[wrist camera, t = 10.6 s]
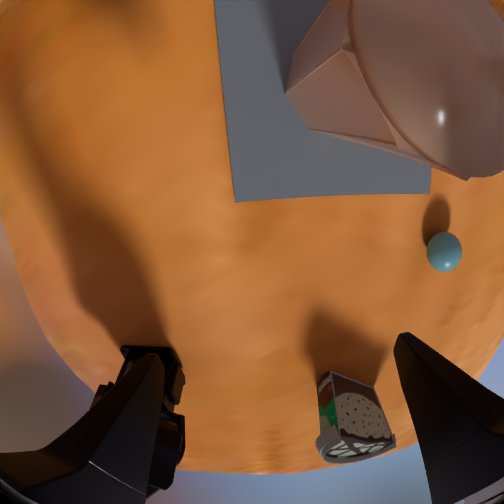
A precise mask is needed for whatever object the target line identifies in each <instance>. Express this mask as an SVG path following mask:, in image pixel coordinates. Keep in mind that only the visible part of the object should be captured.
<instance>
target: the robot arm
mask: <svg viewBox="0 0 504 504" xmlns="http://www.w3.org/2000/svg"><path fill="white" fill-rule="evenodd" d="M120 351H121V353H122V355H123V357H124V358H125V360H124V363H123V365H122V367H121V370H120V372H119V375H118V377H117V380H116V382H115V385H114V383H112V382H110V381H109V383H108V384H107V385H99V387H98V389H97V392H96V394H95V397H94V399H93V402H92V404H91V407H90V409H89V411H88V412H87V413H86V414H85V415H84V416H82V417H81V418H80V419H79V420H78V421H77V422H76V423H75V424H74V425H73V426H71V427H70V428H69V429H68V430H67V431H65V432H64V433H63V434H62V435H60V436H59V437H58V438H56V439H55V440H54V441H53V442H51V443H50V444H49V445H47V446H46V447H44V448H42V449H39V450H35V451H26V452H11V453H0V504H145V501H146V499H147V498H149V497H150V496H152V495H153V494H154V493H156V492H157V491H158V490H160V489H162V490H167V489H168V488H169V487H170V486H171V484H172V483H173V478H174V472H175V468H176V466H177V465H178V464H179V463H180V461H181V459H182V457H183V455H184V451H185V416H183V415H181V414H179V415H178V414H176V413H174V412H173V411H174V406H175V405H178V404H179V403H180V398H181V393H182V389H183V385H185V382H186V381H185V376H184V374H183V371H182V369H181V367H180V365H179V363H177V360H176V358H175V356H174V353H173V351H172V349H170V348H167V347H137V346H121V348H120ZM393 352H394V357H395V361H396V365H397V370H398V374H399V378H400V383H401V386H402V390H403V393H404V396H405V399H406V402H407V405H408V408H409V411H410V414H411V418H412V421H413V424H414V428H415V431H416V435H417V438H418V442H419V445H420V449H421V453H422V457H423V461H424V465H425V470H426V475H427V479H428V484H429V489H430V494H431V499H432V504H454V503H456V502H459V501H461V500H463V499H464V501H465V503H464V504H504V399H503V398H502V397H500V396H498V395H497V394H495V393H494V392H492V391H490V390H489V389H487V388H486V387H484V386H483V385H482V384H480V383H479V382H477V381H476V380H475V379H473V378H471V376H469V375H468V374H467V373H465V372H464V371H463V370H461V369H460V368H458V367H457V366H456V365H454V364H453V363H452V362H450V361H449V360H448V359H446V358H445V357H443V356H442V355H441V354H439V353H438V352H436V351H435V350H434V349H432V348H431V347H430V346H428V345H427V344H425V343H424V342H423V341H421V340H420V339H418V338H417V337H415V336H414V335H413V334H411V333H410V332H405V333H400V334H399V335H398V337H397V340H396V343H395V346H394V350H393Z"/></svg>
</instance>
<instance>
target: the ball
mask: <svg viewBox="0 0 504 504" xmlns="http://www.w3.org/2000/svg"><path fill="white" fill-rule="evenodd" d="M461 256H462V247H461V244H460V242H459V240H458V238H457V237H456V236H455V235H453V234H452V233H449V232H439V233H437V234H435V235H434V236H433V237H432V238H431V239H430V241H429V243H428V245H427V258H428V261H429V263H430V264H431V266H432V267H433V268H435V269H436V270H438V271H441V272H447V271H451V270H453V269H454V268H455V267H456V266H457V265H458V264H459V262H460V260H461Z"/></svg>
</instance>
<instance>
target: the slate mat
mask: <svg viewBox="0 0 504 504" xmlns="http://www.w3.org/2000/svg"><path fill="white" fill-rule="evenodd" d="M329 1H330V0H214V3H215V14H216V25H217V35H218V45H219V56H220V66H221V76H222V85H223V95H224V104H225V114H226V123H227V132H228V141H229V150H230V159H231V168H232V177H233V186H234V194H235V202H246V201H257V200H269V199H283V198H297V197H314V196H334V195H360V194H429V193H430V181H431V167H430V166H428V165H425V164H422V163H419V162H416V161H413V160H410V159H407V158H404V157H401V156H398V155H395V154H392V153H388V152H385V151H382V150H378V149H375V148H371V147H367V146H363V145H360V144H356V143H352V142H348V141H346V140H343V139H340V138H337V137H333V136H330V135H326V134H323V133H319V132H315V131H309V130H308V128H307V126H306V125H305V123H304V122H303V120H302V119H301V117H300V116H299V114H298V113H297V111H296V110H295V108H294V107H293V105H292V104H291V102H290V101H289V99H288V98H287V96H286V95H285V94H284V93H285V91H286V86H287V82H288V77H289V72H290V68H291V63H292V58H293V57H292V56H293V54H294V53H295V51H296V50H297V48H298V47H299V45H300V43H301V42H302V40H303V39H304V37H305V36H306V34H307V33H308V31H309V30H310V28H311V27H312V25H313V24H314V22H315V21H316V19H317V18H318V17H319V15H320V14H321V12H322V11H323V9H324V8H325V7H326V5H327V4H328V2H329Z"/></svg>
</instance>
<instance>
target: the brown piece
mask: <svg viewBox="0 0 504 504" xmlns="http://www.w3.org/2000/svg"><path fill="white" fill-rule="evenodd" d="M292 57H293V58H292V63H291V68H290V72H289V77H288V82H287V86H286V91H285V93H284V94H285V95H286V96H287V98H288V99H289V101H290V102H291V104H292V105H293V107H294V108H295V110H296V111H297V113H298V114H299V116H300V117H301V119H302V120H303V122H304V123H305V125H306V126H307V128H308V130H309V131H315V132H319V133H323V134H326V135H330V136H333V137H337V138H340V139H343V140H346V141H348V142H352V143H356V144H360V145H363V146H367V147H371V148H375V149H378V150H382V151H385V152H388V153H392V154H395V155H398V156H401V157H404V158H407V159H410V160H413V161H416V162H419V163H422V164H425V165H428V166H430V167H433V168H436V169H438V170H441V171H443V172H446V173H448V174H451V175H453V176H456V177H458V178H461V179H463V180H465V181H466V180H468V179H469V178H470V177H488V176H493V175H495V174H497V173H500V172H501V171H503V170H504V20H503V19H502V17H501V16H500V14H499V13H498V12H497V10H496V9H495V8H494V6H493V5H492V4H491V3H490V2H489V1H488V0H330V1H329V2H328V4H327V5H326V7H325V8H324V9H323V11H322V12H321V14H320V15H319V17H318V18H317V19H316V21H315V22H314V24H313V25H312V27H311V28H310V30H309V31H308V33H307V34H306V36H305V37H304V39H303V40H302V42H301V43H300V45H299V47H298V48H297V50H296V51H295V53H294V54H293V56H292Z"/></svg>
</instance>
